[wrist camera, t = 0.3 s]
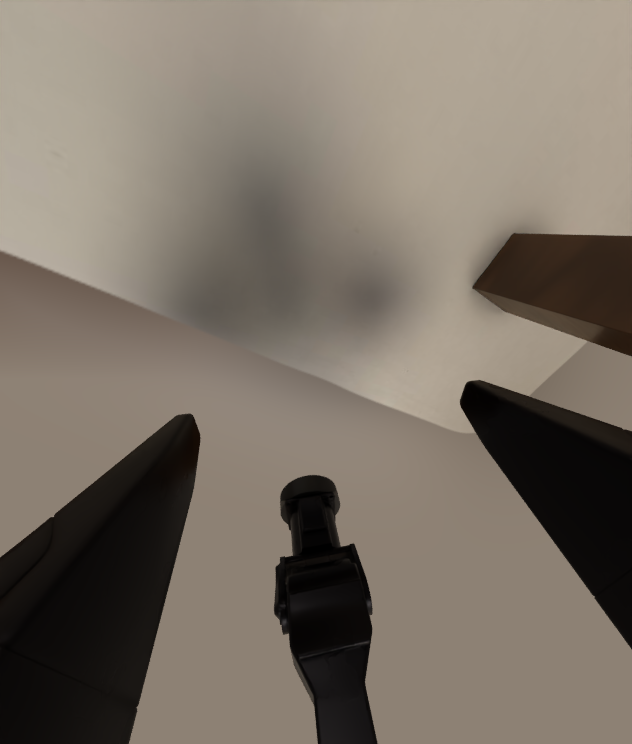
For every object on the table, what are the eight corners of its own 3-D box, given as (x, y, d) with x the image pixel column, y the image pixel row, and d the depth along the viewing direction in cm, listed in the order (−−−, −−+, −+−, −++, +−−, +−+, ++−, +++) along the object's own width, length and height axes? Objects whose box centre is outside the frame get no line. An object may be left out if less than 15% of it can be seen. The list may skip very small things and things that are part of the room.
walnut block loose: (505, 311, 23) (703, 382, 12) (472, 287, 21) (667, 345, 11) (546, 263, 21) (814, 297, 11) (513, 232, 19) (792, 238, 9)
